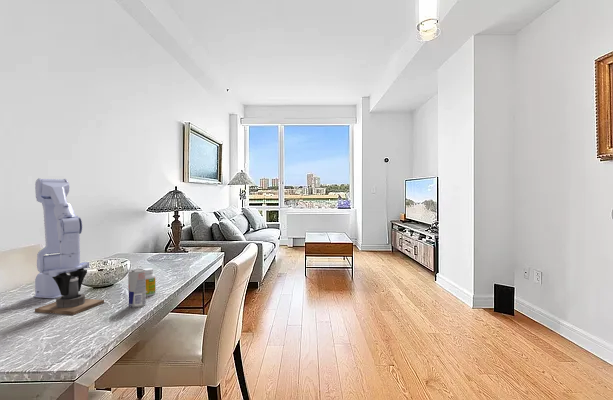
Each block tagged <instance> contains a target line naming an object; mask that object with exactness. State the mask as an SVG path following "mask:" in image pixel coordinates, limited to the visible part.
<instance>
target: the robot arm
mask: <svg viewBox="0 0 613 400" xmlns="http://www.w3.org/2000/svg"><path fill="white" fill-rule="evenodd" d="M34 185H35V187H34V188H35V191H34V192H35V199H36V202H37V203H41V205H42V209H43V221H44V223H43V224H44V238H45V240H44V241H45V246H44V247H43V248H42V249H40V250H39V251H38V253H37V256H36V257H37V258H36V268H37V271H38V272H39V273H38V274H37V275H36V276H35V279H34V286H35V287H34V289H35V290H34V291H35V293H34V295H33V298H41V299H42V298H44V299H56V298H58V297H60V296H67V295H68V292H69V282H70V278H71V276H73V275H76V276H78V292H80V291H81V288H82V285H83V281H84V279H85V277H86V275H87V273H88V270H87V269H89V268H90V262H88V261H87V262H86V261H84V262H81V243H80V242H81V241H80V240H81V238H80V236H81V234H82V232H83V220H82V218H81V217H80V216H79V215H76V212H75V210H74V207H73V205H72V204H70V203H68V199H67V196H68V195H69V193H70V182H69V181H68V179H66V178H62V179H61V178H57V179H56V178H53V179H52V178H39V177H38V178H37V179H36V181H35V184H34ZM68 272H70V275H67V274H66V273H68Z"/></svg>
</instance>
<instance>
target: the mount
mask: <svg viewBox="0 0 613 400" xmlns="http://www.w3.org/2000/svg"><path fill="white" fill-rule="evenodd" d="M104 303H105V300H104V299H93V298H86V295H85V294H84V293H79V297H78V298H74V299H66V300H64V299H63V296H60V297H57V298H55V301H54V302H51V303H48V304H44V305H42V306H39V307H37V308H34V312H35V313H42V314H43V313H47V314H57V315H58V314H59V315H71V316H72V315H73V316H74V315H78V314H79V313H82V312H85V311H88V310H89V309H92V308H95V307H98V306H99V305H103V304H104Z"/></svg>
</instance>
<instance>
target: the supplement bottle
mask: <svg viewBox="0 0 613 400" xmlns="http://www.w3.org/2000/svg"><path fill="white" fill-rule="evenodd" d="M142 269H143V270H145V280H146V297H149V296H150V297H151V296H154V295H155V294H156V274H155V273H154V268H152V267H146V268H142Z"/></svg>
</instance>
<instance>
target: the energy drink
mask: <svg viewBox="0 0 613 400" xmlns="http://www.w3.org/2000/svg"><path fill="white" fill-rule="evenodd" d="M143 269H144V268H140V269H139V268H138V269H137V268H136V269H131V270H129V271H128V274H127V275H128V276H127V281H128V282H127V284H128V285H127V286H128V290H127V291H128V307H130V308H133V309H136V308H142V307H144V306H146V305H147V300H146V297H147V296H146V280H145V270H143Z"/></svg>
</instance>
